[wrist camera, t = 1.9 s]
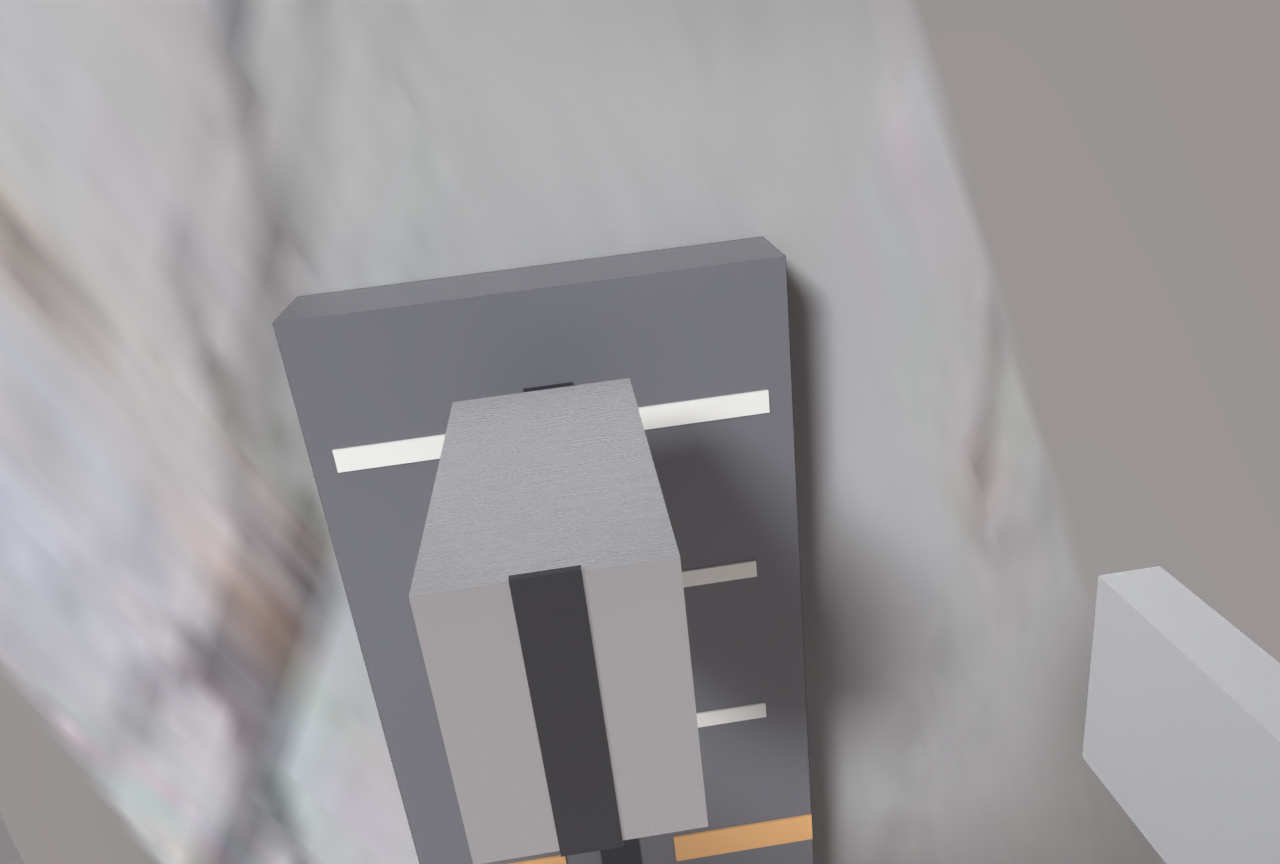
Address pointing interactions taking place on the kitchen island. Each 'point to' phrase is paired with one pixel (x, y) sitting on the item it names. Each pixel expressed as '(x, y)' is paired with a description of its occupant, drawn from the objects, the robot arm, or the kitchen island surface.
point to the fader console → (686, 469)
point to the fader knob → (557, 627)
